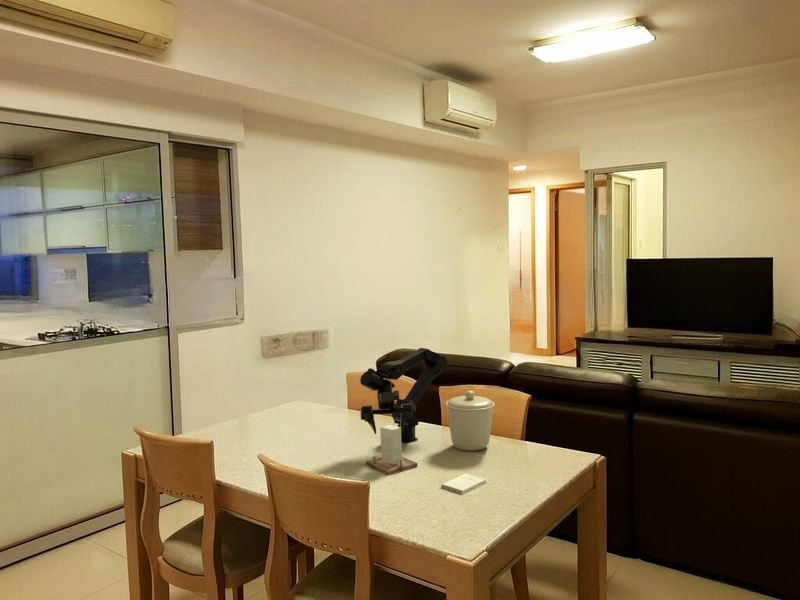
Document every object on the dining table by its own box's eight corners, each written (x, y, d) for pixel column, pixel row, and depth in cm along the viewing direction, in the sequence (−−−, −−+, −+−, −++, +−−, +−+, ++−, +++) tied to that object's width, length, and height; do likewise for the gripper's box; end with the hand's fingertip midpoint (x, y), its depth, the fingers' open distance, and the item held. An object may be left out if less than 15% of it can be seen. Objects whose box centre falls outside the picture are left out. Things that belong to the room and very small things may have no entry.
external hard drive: (441, 489, 188) (465, 477, 197) (462, 495, 182) (486, 483, 191) (441, 483, 188) (465, 472, 197) (462, 490, 182) (486, 478, 191)
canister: (458, 457, 215) (457, 398, 213) (438, 442, 232) (437, 388, 230) (503, 451, 221) (503, 393, 219) (481, 437, 238) (481, 384, 236)
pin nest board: (395, 457, 216) (395, 446, 216) (417, 466, 206) (417, 455, 206) (365, 464, 209) (365, 454, 208) (387, 475, 199) (387, 464, 198)
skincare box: (402, 461, 207) (401, 427, 206) (394, 465, 204) (393, 430, 203) (388, 458, 211) (388, 424, 210) (380, 461, 208) (379, 427, 207)
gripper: (360, 383, 218) (362, 422, 208) (411, 381, 220) (417, 419, 210) (359, 400, 226) (361, 438, 216) (409, 397, 228) (414, 435, 218)
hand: (388, 432), depth 215 cm, fingers open, 9 cm apart
